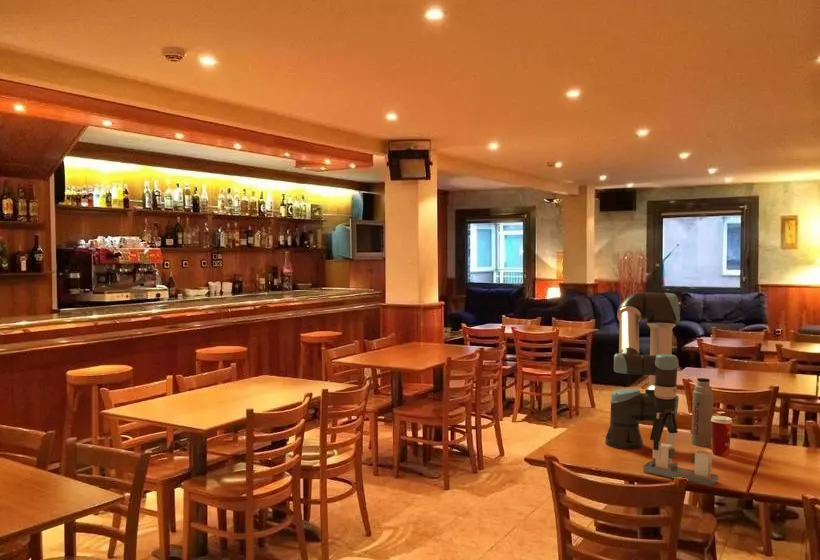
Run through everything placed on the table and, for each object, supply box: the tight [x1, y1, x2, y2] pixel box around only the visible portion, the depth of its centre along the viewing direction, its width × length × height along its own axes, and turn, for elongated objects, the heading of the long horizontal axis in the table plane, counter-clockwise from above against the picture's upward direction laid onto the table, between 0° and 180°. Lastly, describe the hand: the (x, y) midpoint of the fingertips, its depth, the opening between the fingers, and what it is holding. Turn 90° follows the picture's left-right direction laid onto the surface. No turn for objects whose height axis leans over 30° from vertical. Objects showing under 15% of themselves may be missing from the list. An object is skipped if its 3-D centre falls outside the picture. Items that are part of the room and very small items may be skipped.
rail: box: [642, 449, 719, 488], centre depth 251 cm, size 24×7×10 cm, turn 50°
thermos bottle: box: [690, 377, 714, 448], centre depth 296 cm, size 8×8×28 cm
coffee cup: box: [711, 415, 734, 458], centre depth 281 cm, size 8×8×15 cm
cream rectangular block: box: [655, 442, 676, 469], centre depth 255 cm, size 6×4×8 cm
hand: (663, 454), depth 255 cm, fingers open, 13 cm apart
